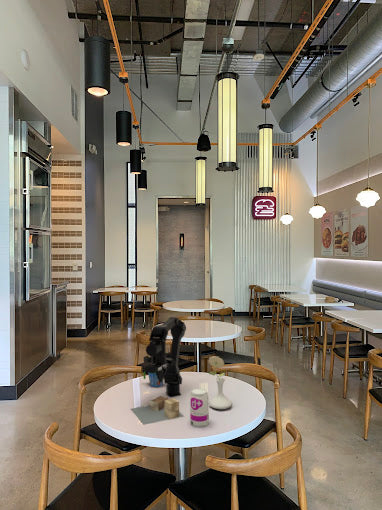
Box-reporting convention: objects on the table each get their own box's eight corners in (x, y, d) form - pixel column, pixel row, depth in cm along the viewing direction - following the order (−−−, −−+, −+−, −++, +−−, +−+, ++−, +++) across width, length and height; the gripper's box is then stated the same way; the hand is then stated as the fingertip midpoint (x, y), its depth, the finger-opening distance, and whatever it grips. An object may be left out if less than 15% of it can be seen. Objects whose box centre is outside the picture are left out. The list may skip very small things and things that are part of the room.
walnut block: (150, 409, 188) (160, 403, 194) (158, 411, 185) (168, 405, 191) (150, 401, 188) (160, 396, 194) (158, 403, 185) (168, 397, 191)
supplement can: (203, 430, 165) (202, 395, 166) (186, 426, 170) (186, 392, 170) (212, 423, 172) (211, 389, 172) (196, 419, 177) (196, 386, 177)
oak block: (173, 412, 183) (173, 398, 183) (179, 416, 179) (179, 401, 179) (164, 415, 180) (164, 400, 180) (170, 419, 176) (170, 403, 176)
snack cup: (140, 386, 222) (140, 369, 222) (148, 381, 232) (148, 364, 232) (164, 390, 216) (164, 372, 216) (172, 384, 226) (172, 366, 226)
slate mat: (168, 402, 197) (168, 401, 197) (184, 417, 179) (184, 416, 179) (130, 410, 188) (130, 408, 188) (143, 426, 170) (143, 424, 170)
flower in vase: (236, 406, 191) (235, 356, 191) (222, 413, 183) (222, 361, 183) (216, 400, 200) (215, 352, 200) (201, 406, 192) (201, 356, 192)
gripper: (159, 345, 205) (159, 374, 205) (135, 353, 190) (135, 384, 190) (175, 348, 199) (176, 378, 199) (152, 356, 184) (152, 388, 184)
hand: (160, 382), depth 193 cm, fingers closed
